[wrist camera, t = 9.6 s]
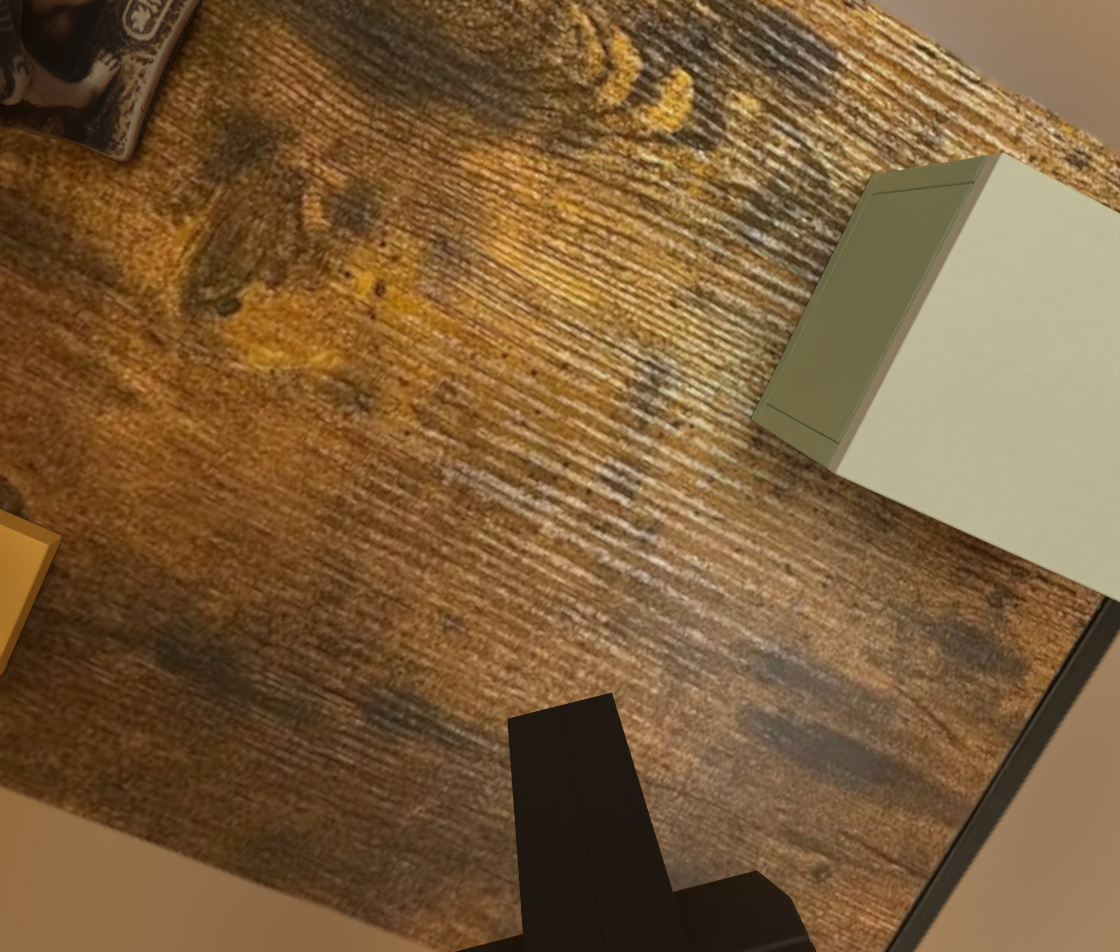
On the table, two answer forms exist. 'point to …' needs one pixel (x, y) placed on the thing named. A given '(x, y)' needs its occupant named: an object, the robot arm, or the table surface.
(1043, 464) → the hatch lid
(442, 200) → the table surface
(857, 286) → the hatch box
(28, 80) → the statue
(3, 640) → the button block
